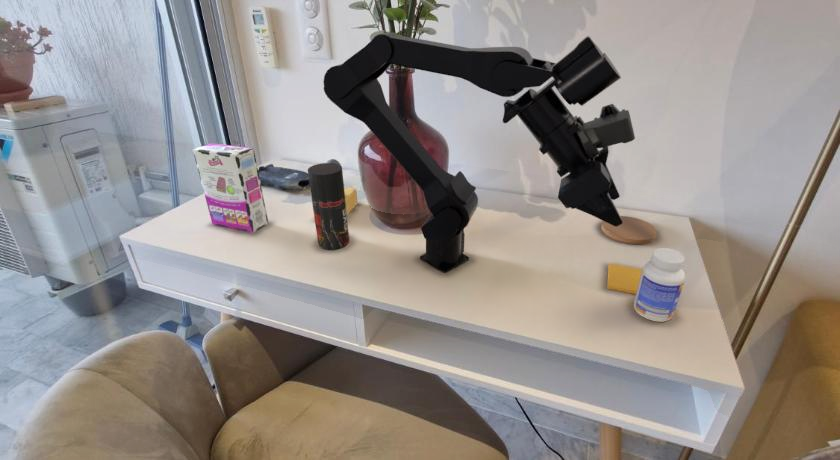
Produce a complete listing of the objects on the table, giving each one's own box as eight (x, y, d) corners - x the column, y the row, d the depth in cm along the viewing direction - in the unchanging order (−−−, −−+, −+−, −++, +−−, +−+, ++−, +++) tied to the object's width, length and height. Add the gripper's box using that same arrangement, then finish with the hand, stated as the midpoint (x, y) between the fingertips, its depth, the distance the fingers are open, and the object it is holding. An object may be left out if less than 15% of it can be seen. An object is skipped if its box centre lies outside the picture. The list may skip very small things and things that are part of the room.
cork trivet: (642, 250, 80) (643, 245, 79) (591, 231, 86) (592, 226, 86) (664, 232, 86) (665, 227, 85) (615, 215, 92) (616, 211, 92)
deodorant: (349, 249, 81) (341, 173, 74) (316, 251, 81) (305, 175, 74) (349, 234, 87) (342, 162, 79) (319, 236, 86) (309, 163, 79)
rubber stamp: (341, 223, 91) (335, 168, 85) (315, 220, 92) (308, 166, 86) (358, 203, 99) (353, 152, 94) (334, 201, 100) (328, 151, 95)
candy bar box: (270, 223, 91) (255, 147, 83) (254, 234, 87) (236, 155, 79) (228, 214, 95) (210, 141, 87) (211, 225, 91) (190, 148, 83)
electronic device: (249, 191, 110) (295, 193, 103) (245, 169, 108) (291, 170, 101) (276, 183, 117) (320, 184, 111) (272, 162, 116) (317, 162, 109)
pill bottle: (677, 325, 62) (697, 267, 57) (637, 320, 63) (653, 263, 58) (666, 301, 67) (684, 247, 62) (628, 297, 68) (643, 243, 63)
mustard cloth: (655, 298, 67) (656, 295, 67) (607, 288, 70) (607, 285, 69) (653, 274, 73) (653, 271, 73) (608, 266, 75) (609, 263, 75)
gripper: (607, 104, 49) (685, 208, 51) (604, 76, 64) (664, 158, 67) (526, 160, 55) (599, 252, 57) (541, 123, 70) (598, 196, 73)
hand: (618, 210), depth 63 cm, fingers open, 9 cm apart
